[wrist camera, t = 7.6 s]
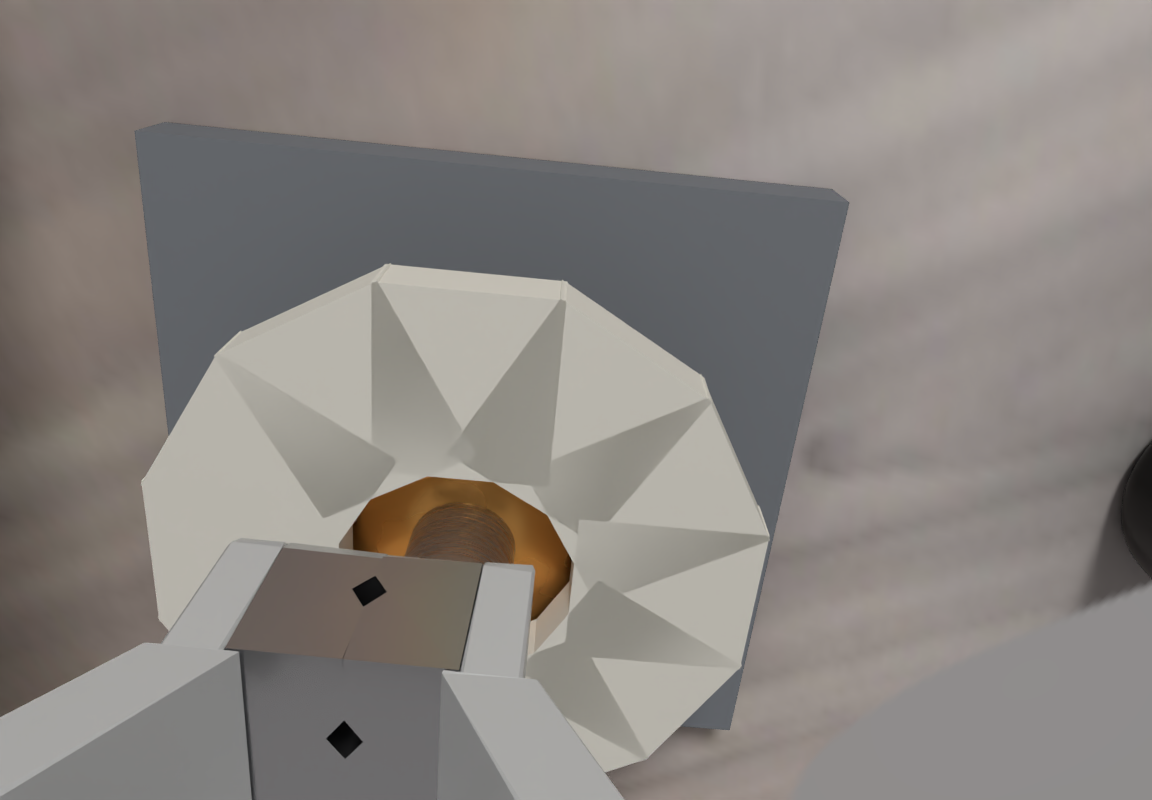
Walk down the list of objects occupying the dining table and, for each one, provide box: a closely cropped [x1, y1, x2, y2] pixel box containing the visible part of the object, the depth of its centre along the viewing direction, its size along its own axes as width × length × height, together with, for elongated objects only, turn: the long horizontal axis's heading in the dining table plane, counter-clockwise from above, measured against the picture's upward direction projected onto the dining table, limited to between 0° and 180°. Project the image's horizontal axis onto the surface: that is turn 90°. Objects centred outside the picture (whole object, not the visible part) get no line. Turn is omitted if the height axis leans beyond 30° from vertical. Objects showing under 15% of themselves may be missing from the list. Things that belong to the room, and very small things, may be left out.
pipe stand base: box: [135, 122, 849, 730], centre depth 23 cm, size 16×16×2 cm
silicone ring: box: [141, 263, 770, 772], centre depth 19 cm, size 13×13×1 cm
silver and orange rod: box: [353, 476, 572, 621], centre depth 16 cm, size 6×6×14 cm
